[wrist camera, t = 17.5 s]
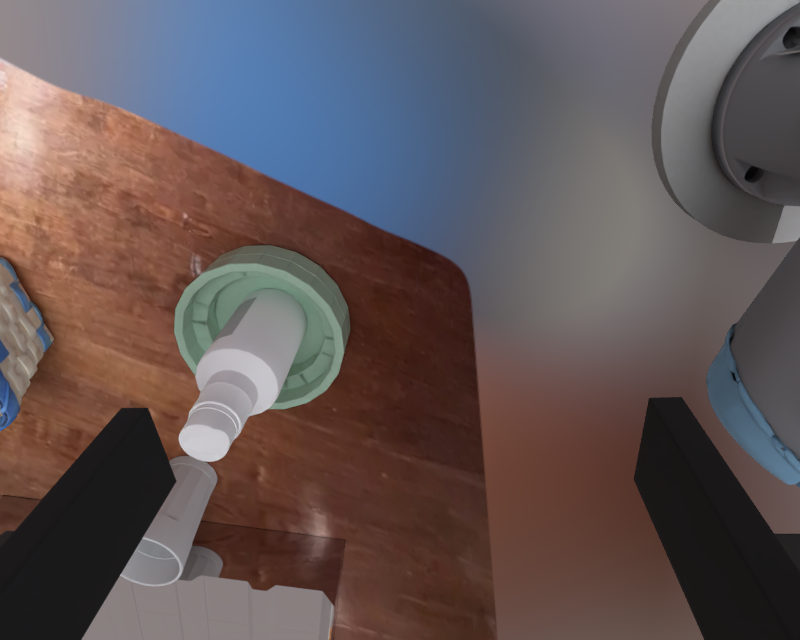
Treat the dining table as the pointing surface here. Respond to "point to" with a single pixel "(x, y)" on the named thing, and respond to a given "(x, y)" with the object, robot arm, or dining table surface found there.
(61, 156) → the dining table surface
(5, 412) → the basket
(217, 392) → the white bottle
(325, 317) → the bowl
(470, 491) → the dining table surface
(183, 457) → the cup
